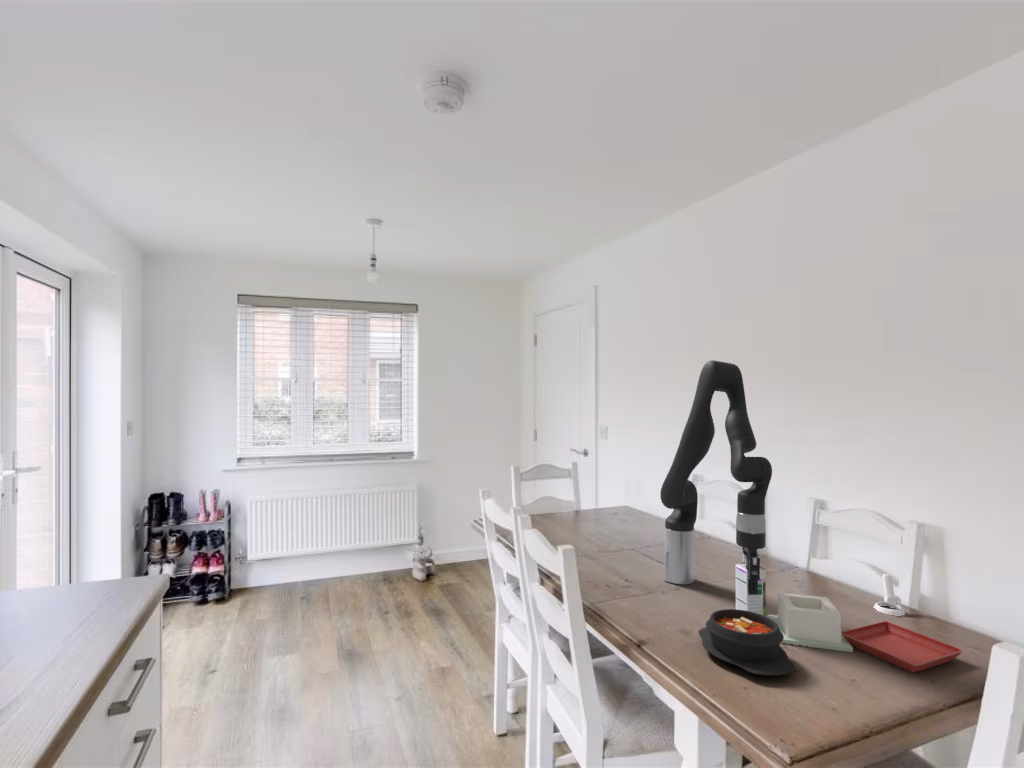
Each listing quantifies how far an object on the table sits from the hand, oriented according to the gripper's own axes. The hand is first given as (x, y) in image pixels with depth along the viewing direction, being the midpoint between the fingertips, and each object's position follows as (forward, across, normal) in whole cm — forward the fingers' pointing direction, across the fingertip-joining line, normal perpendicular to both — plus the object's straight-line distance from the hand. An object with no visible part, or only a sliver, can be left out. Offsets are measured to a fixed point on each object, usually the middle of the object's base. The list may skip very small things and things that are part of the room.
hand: (750, 588), depth 151 cm
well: (+8, +6, +13) cm, 16 cm away
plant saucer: (+9, +11, +32) cm, 35 cm away
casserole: (+9, +24, -5) cm, 26 cm away
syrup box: (+9, 0, 0) cm, 9 cm away
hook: (+9, -18, +40) cm, 45 cm away
